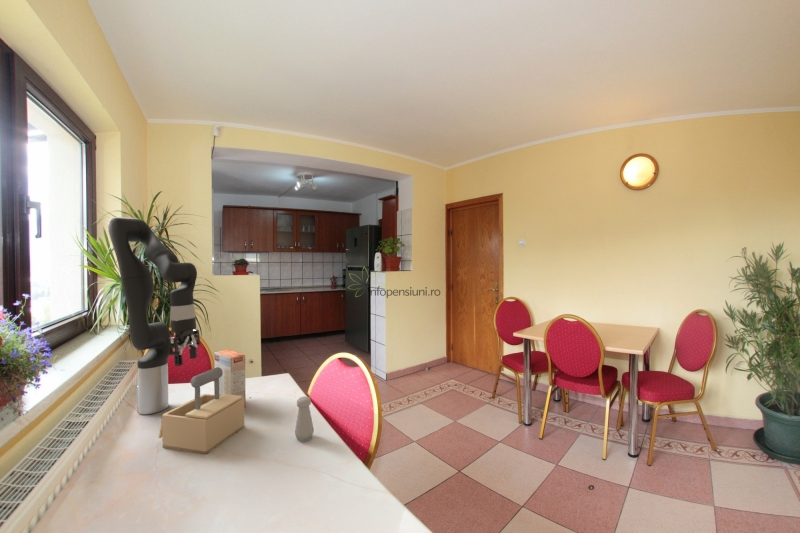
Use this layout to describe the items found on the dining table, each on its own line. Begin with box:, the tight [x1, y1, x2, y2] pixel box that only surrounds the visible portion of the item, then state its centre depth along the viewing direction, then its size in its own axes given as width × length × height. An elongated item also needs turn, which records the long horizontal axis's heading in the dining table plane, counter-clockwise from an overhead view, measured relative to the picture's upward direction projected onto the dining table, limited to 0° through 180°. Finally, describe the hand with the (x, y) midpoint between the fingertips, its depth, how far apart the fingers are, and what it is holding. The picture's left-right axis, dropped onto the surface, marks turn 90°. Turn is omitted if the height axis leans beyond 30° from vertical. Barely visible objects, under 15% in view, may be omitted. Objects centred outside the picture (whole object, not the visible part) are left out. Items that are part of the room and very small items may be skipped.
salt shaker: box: [294, 396, 315, 443], centre depth 103 cm, size 6×6×13 cm
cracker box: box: [214, 349, 247, 409], centre depth 127 cm, size 14×6×21 cm, turn 52°
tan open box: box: [158, 393, 245, 455], centre depth 105 cm, size 18×16×10 cm
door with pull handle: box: [185, 367, 243, 419], centre depth 103 cm, size 9×15×11 cm, turn 167°
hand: (186, 361), depth 117 cm, fingers open, 8 cm apart
